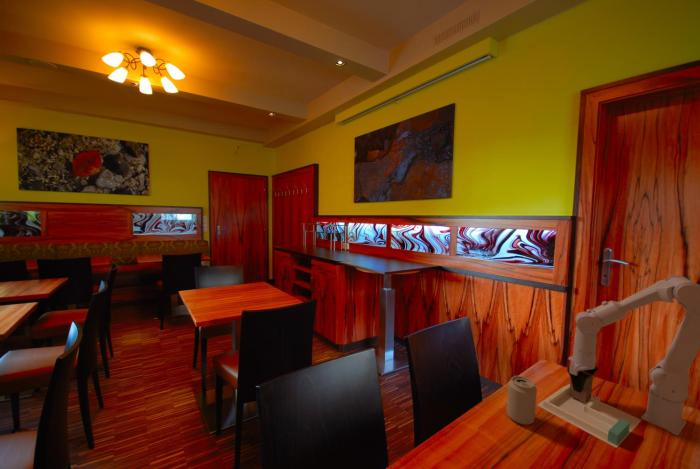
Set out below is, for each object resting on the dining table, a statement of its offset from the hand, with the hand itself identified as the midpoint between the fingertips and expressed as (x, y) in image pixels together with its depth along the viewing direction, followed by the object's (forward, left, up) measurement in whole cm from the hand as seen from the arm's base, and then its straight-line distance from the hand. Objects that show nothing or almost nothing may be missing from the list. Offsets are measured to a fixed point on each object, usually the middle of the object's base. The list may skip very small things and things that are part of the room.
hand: (580, 388), depth 103 cm
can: (+25, -6, -4) cm, 26 cm away
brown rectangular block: (0, 0, -3) cm, 3 cm away
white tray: (+6, +4, -4) cm, 8 cm away
